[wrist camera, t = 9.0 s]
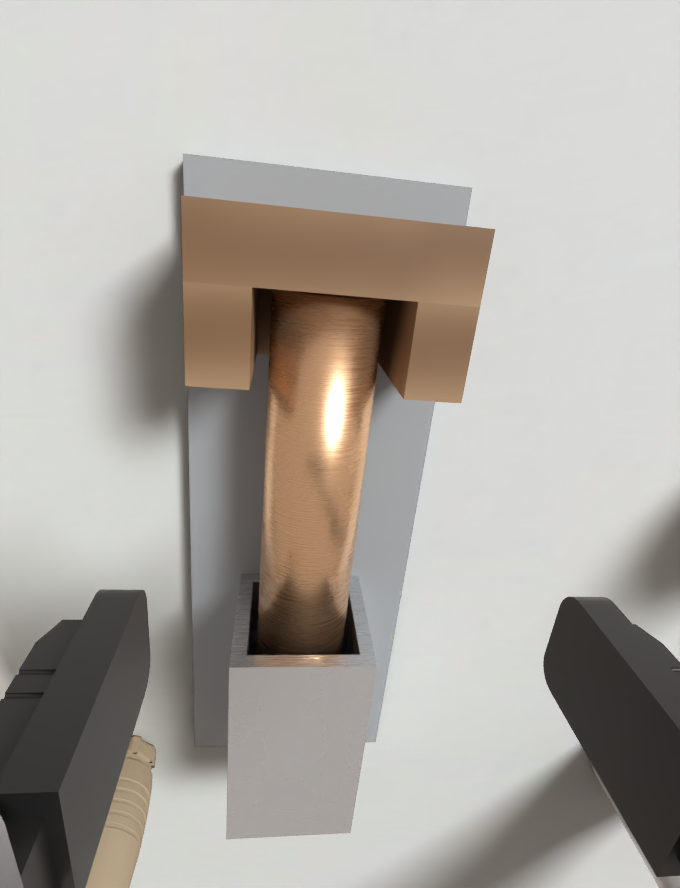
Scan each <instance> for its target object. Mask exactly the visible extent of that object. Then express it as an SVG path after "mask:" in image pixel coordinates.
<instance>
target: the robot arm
mask: <svg viewBox="0 0 680 888" xmlns="http://www.w3.org/2000/svg"><path fill="white" fill-rule="evenodd" d="M149 668H150V644H149V628H148V612H147V598H146V593H145V591H144V590H99V591H98V592H97V593H96V595H95V597H94V599H93V601H92V602H91V604H90V606H89V608H88V610H87V612H86V614H85V616H84V618H83V620H62V621H61V622H60V623H58V624H57V625H56V626H55V627H54V628H52V629H51V630H50V631H49V632H48V633H47V634H45V635H44V636H43V637H42V638H41V639H39V640H38V641H37V642H36V643H35V645H34V646H33V648H32V650H31V651H30V653H29V655H28V656H27V658H26V660H25V661H24V663H23V665H22V666H21V668H20V669H19V674H18V675H16V676H15V678H14V679H13V681H12V683H11V684H10V686H9V688H8V689H7V691H6V692H5V698H4V699H1V701H0V888H85V887H86V884H87V881H88V878H89V874H90V871H91V868H92V865H93V861H94V858H95V855H96V852H97V848H98V845H99V842H100V839H101V835H102V832H103V829H104V825H105V822H106V819H107V816H108V812H109V809H110V806H111V803H112V799H113V796H114V793H115V790H116V786H117V783H118V780H119V776H120V773H121V770H122V767H123V763H124V760H125V757H126V754H127V750H128V747H129V744H130V741H131V737H132V734H133V731H134V728H135V724H136V721H137V718H138V714H139V711H140V708H141V705H142V701H143V698H144V695H145V691H146V687H147V682H148V677H149ZM544 674H545V679H546V682H547V685H548V687H549V689H550V691H551V693H552V695H553V697H554V698H555V700H556V702H557V704H558V705H559V707H560V709H561V711H562V712H563V714H564V716H565V718H566V719H567V721H568V723H569V725H570V726H571V728H572V730H573V732H574V733H575V735H576V737H577V739H578V740H579V742H580V744H581V746H582V747H583V749H584V751H585V753H586V754H587V756H588V758H589V760H590V761H591V765H592V769H593V772H594V773H595V775H596V777H597V779H598V780H599V782H600V784H601V786H602V787H603V789H604V791H605V793H606V795H607V796H608V798H609V800H610V802H611V803H612V805H613V807H614V809H615V810H616V812H617V814H618V816H619V817H620V819H621V821H622V823H623V825H624V827H625V828H626V830H627V832H628V834H629V835H630V837H631V839H632V841H633V842H634V844H635V846H636V848H637V849H638V851H639V853H640V855H641V857H642V858H643V860H644V862H645V864H646V865H647V867H648V869H649V871H650V872H651V874H652V876H653V878H654V879H655V881H656V883H657V885H658V886H659V888H680V662H679V661H678V660H677V659H676V658H675V657H674V655H673V654H672V653H671V652H670V651H669V650H668V649H667V648H666V647H665V646H664V645H663V644H662V643H661V642H659V641H658V640H657V639H655V638H654V637H652V636H651V635H650V634H648V633H647V632H645V631H644V630H643V629H641V628H640V627H638V626H637V625H636V624H632V623H631V622H630V621H629V620H628V619H627V618H626V616H625V615H624V614H623V613H622V612H621V611H620V610H619V609H618V607H617V606H616V605H615V604H614V603H613V602H612V601H611V600H609V599H608V598H604V597H567V598H565V599H564V600H563V601H562V603H561V605H560V608H559V611H558V614H557V617H556V620H555V623H554V627H553V630H552V633H551V636H550V639H549V642H548V645H547V649H546V652H545V655H544Z"/></svg>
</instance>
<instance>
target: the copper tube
mask: <svg viewBox="0 0 680 888" xmlns="http://www.w3.org/2000/svg"><path fill="white" fill-rule="evenodd" d="M385 304H386V299H380V298H369V297H357V296H346V295H334V294H323V293H311V292H300V291H288V290H277V289H272V302H271V326H270V349H269V373H268V396H267V420H266V443H265V466H264V490H263V513H262V537H261V560H260V583H259V607H258V630H257V655H341V653H342V645H343V637H344V629H345V621H346V613H347V605H348V597H349V590H350V582H351V574H352V566H353V558H354V550H355V542H356V534H357V526H358V518H359V510H360V502H361V494H362V486H363V478H364V471H365V463H366V455H367V447H368V439H369V431H370V423H371V415H372V407H373V399H374V391H375V383H376V375H377V367H378V360H379V352H380V344H381V336H382V328H383V320H384V312H385Z"/></svg>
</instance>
